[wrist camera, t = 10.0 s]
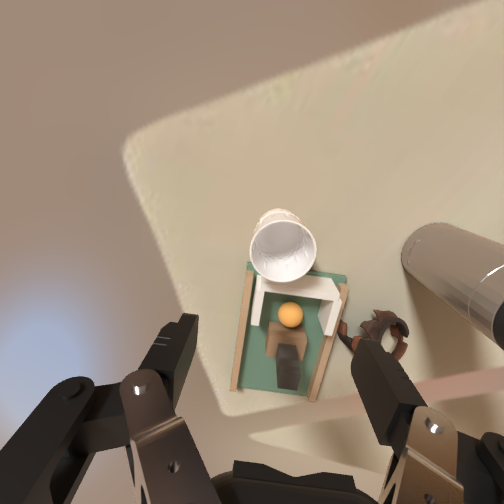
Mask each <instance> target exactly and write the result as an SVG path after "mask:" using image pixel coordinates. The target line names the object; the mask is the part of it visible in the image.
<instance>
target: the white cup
mask: <svg viewBox="0 0 504 504" xmlns="http://www.w3.org/2000/svg"><path fill="white" fill-rule="evenodd" d="M316 253H317V248H316V243H315V240H314V237H313V236H312V234H311V233H310V231H309V230H308V229H307V228H306V226H305V225H304V224H303V223H302V222H301V220H300V219H299V218H298V217H296V215H294V214H293V213H291V212H290V211H288V210H286V209H279V208H277V209H273V210H270V211H267V212H266V213H265V214H264V215H263V216H262V217H261V218H260V220H259V222H258V224H257V226H256V228H255V231H254V234H253V238H252V241H251V244H250V260H251V263H252V265H253V267H254V268H255V270H256V271H257V272H258V273H259V274H260V275H261V276H263V277H264V278H266V279H268V280H270V281H274V282H290V281H294V280H297V279H299V278H300V277H302V276H303V275H305V274H306V273H307V272H308V271H309V270H310V268H311V267H312V265H313V264H314V261H315V258H316Z"/></svg>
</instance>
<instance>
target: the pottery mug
mask: <svg viewBox="0 0 504 504" xmlns="http://www.w3.org/2000/svg"><path fill="white" fill-rule="evenodd" d="M373 311H374V312H375V314H376V316H377V319H378V321H376V320H370V321H364V322H362V323H361V325H360V327H362V328H363V329H365V331H366V332H367V334H368V335H369V337H370V339H374V340H378V341H379V342H380V344H381V339H382V336H383V333H384V332H385V330H386V328H387V327H388V326H389V325H391V324H392V323H396V325H392V326H390V330H391V334H392V335H393V336H396V337H397V338H398V343H397V345H396V348H395V350H394V351H393V352H392V353H391V355H392V356H393V357H394V358H395V359H397V360H399V359H400V358H401V357H402V356H403V354H404V353H405V351H406V349H407V346H408V344H406V343H405V342H403V336H404V337H406V338H407V337H408V335H409V329H408V327H407V324H406V323H405V322H404V321H403V320H402V319H400V318H398V317H397V316H396V314H394V313H393V312H390V311H379V310H373ZM337 331H338V335H339V338H340V339H341V340H342V341H343V342H344V343H345V344H346V345H347V346H348V348H349V349H350V350H351V351H352V352H353V353H355V350H356V347H357V344H358V342H359V340H360V338H363V337H361V336H354V338H353V339H352V338H350V337H348V336H347V332H346V331H347V323H345V322H342V321H341V320H340V321H339V325H338V328H337Z"/></svg>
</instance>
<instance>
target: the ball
mask: <svg viewBox="0 0 504 504" xmlns="http://www.w3.org/2000/svg"><path fill="white" fill-rule="evenodd" d="M278 318H279V320H280V322H281V323H282V324H283V325H284V326H286V327H296V326H298V325H299V324H300V323H301V321H302V319H303V311H302V309H301V307H300V306H299V305H298V304H296V303H294V302H286V303H284V304H283V305H281V307H280V308H279V311H278Z"/></svg>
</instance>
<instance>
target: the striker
mask: <svg viewBox="0 0 504 504" xmlns="http://www.w3.org/2000/svg"><path fill="white" fill-rule="evenodd" d="M306 345H307V337H306V333H305V329H304V325H298V326H296V327H286V326H284V325H283V324H282V323H281V322H276V321H269V323H268V328H267V334H266V339H265V347H266V356H270V357H276V373H277V388H280V389H288V390H295V391H297V390H298V386H299V382H300V378H301V372H300V366H299V361H302V360H303V356H304V352H305V348H306Z"/></svg>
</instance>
